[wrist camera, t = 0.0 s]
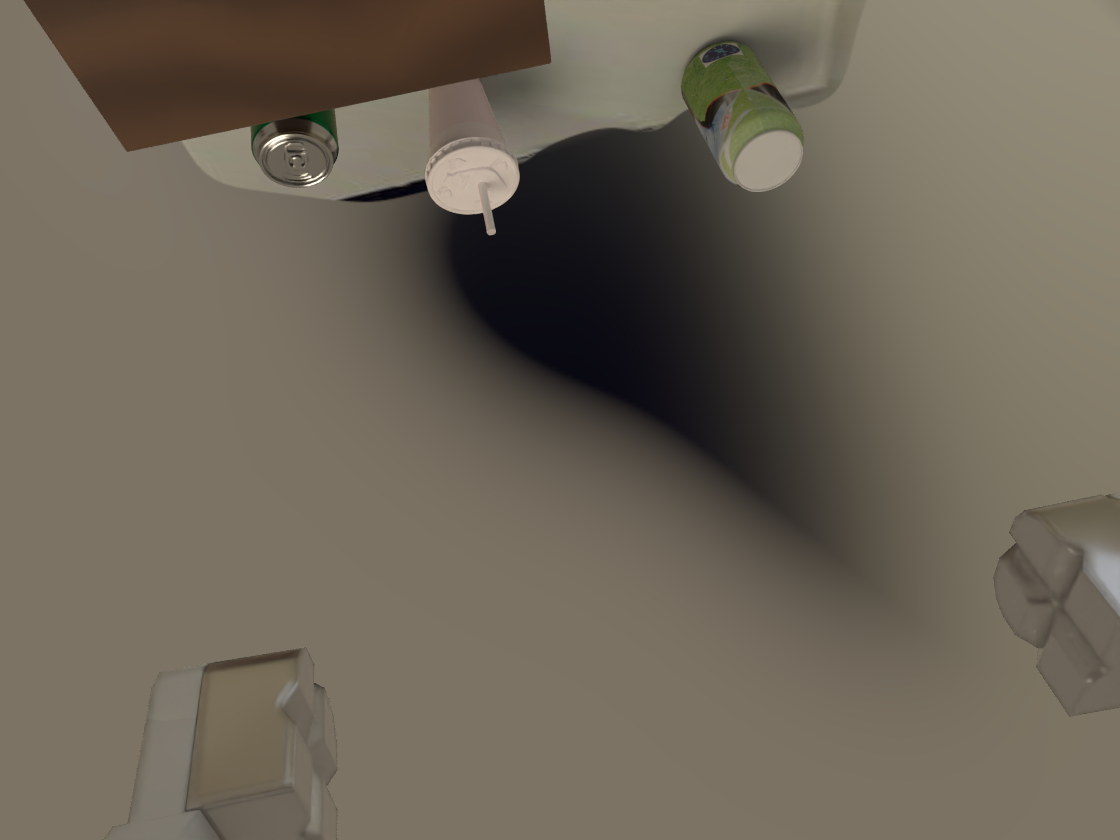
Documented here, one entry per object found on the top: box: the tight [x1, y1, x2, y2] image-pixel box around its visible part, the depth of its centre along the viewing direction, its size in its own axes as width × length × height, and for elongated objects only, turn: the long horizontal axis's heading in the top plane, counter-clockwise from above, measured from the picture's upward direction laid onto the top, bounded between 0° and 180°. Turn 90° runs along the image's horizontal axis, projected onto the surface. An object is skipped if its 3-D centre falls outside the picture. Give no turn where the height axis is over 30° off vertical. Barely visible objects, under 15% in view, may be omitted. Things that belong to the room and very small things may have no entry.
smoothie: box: [425, 78, 519, 235], centre depth 64 cm, size 6×6×14 cm
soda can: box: [251, 109, 339, 188], centre depth 58 cm, size 5×5×12 cm
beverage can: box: [681, 41, 804, 192], centre depth 67 cm, size 6×7×12 cm
